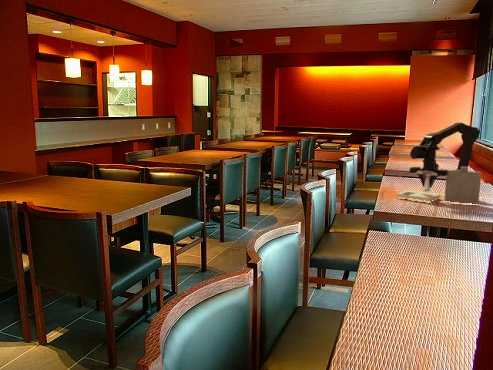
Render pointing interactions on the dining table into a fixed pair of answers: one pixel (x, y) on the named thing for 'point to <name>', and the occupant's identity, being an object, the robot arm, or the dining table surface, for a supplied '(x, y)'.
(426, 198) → the socket block
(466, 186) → the grey upright panel
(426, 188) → the plug
